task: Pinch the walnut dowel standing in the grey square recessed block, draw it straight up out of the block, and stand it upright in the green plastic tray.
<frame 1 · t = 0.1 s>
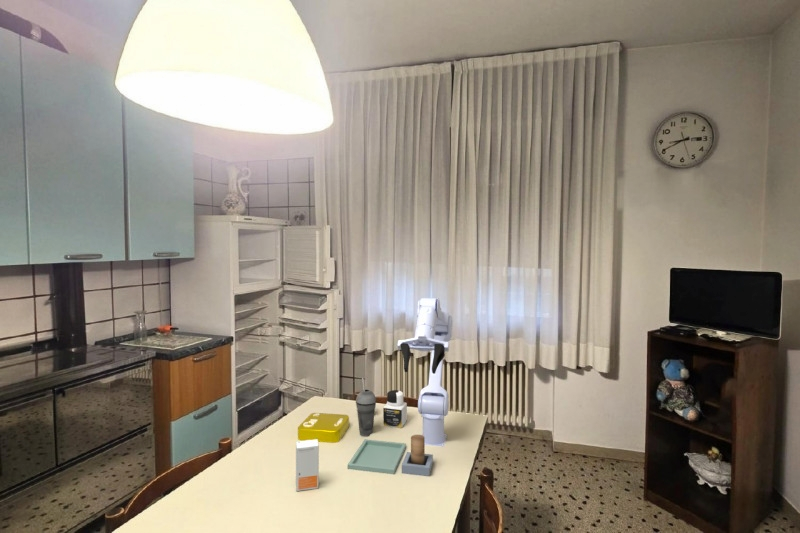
hand: (419, 370, 113), 32 cm above the table, tool tilted 50°, fingers open, 7 cm apart
element tile: (324, 433, 149), on the table
medicine bottle: (395, 423, 156), on the table
grey square recessed block: (417, 469, 123), on the table
dowel: (417, 467, 123), point 1 cm above the table, touching grey square recessed block
skincare box: (307, 487, 114), on the table
beverage cup: (366, 434, 147), on the table
tray: (378, 459, 129), on the table
geometric ball: (365, 415, 164), on the table
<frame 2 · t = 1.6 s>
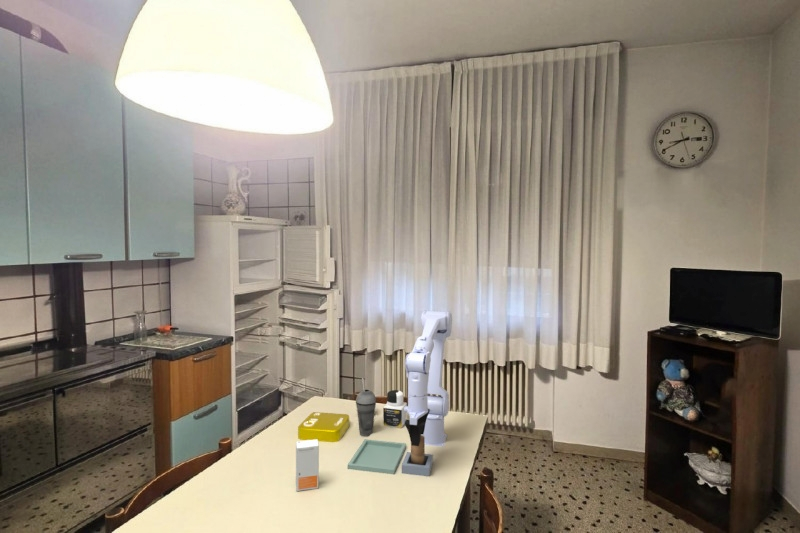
hand: (417, 439, 123), 9 cm above the table, tool pointing down, fingers open, 7 cm apart
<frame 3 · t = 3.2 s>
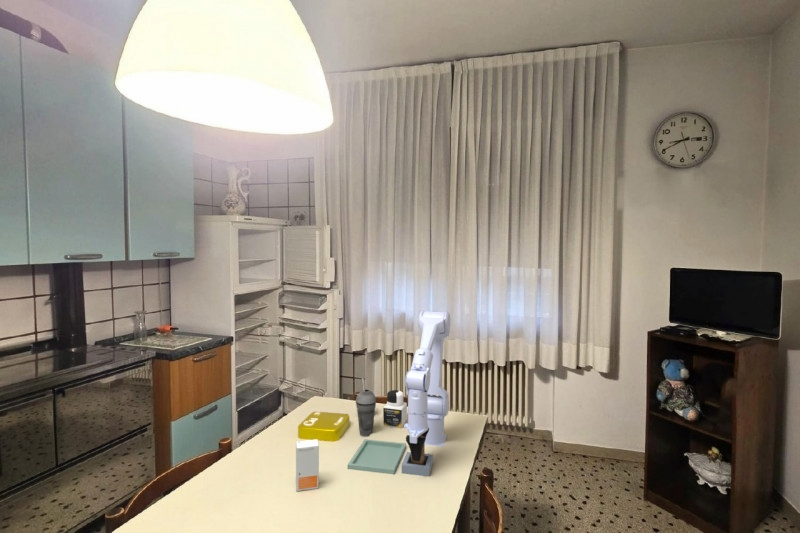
hand: (417, 456, 123), 4 cm above the table, tool pointing down, fingers closed on dowel, 4 cm apart
dowel: (417, 467, 123), point 1 cm above the table, touching grey square recessed block, gripper
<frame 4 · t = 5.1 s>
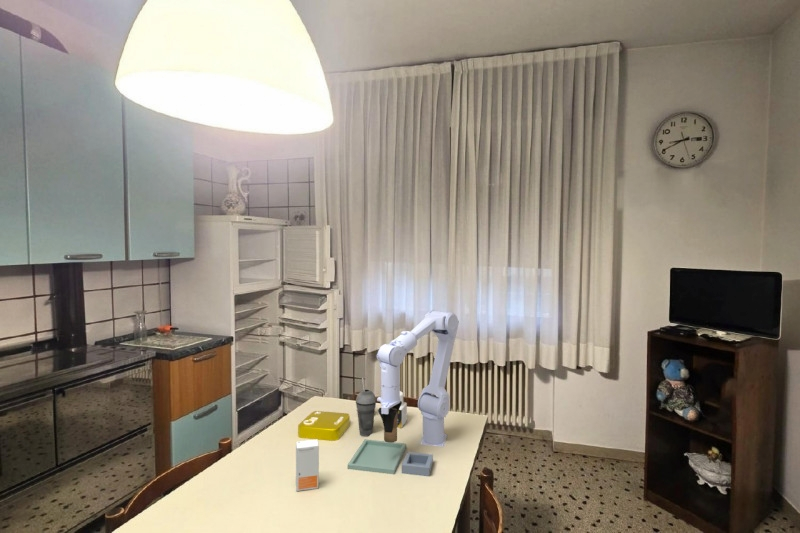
hand: (390, 428, 127), 10 cm above the table, tool pointing down, fingers closed on dowel, 4 cm apart
dowel: (390, 439, 127), point 7 cm above the table, touching gripper
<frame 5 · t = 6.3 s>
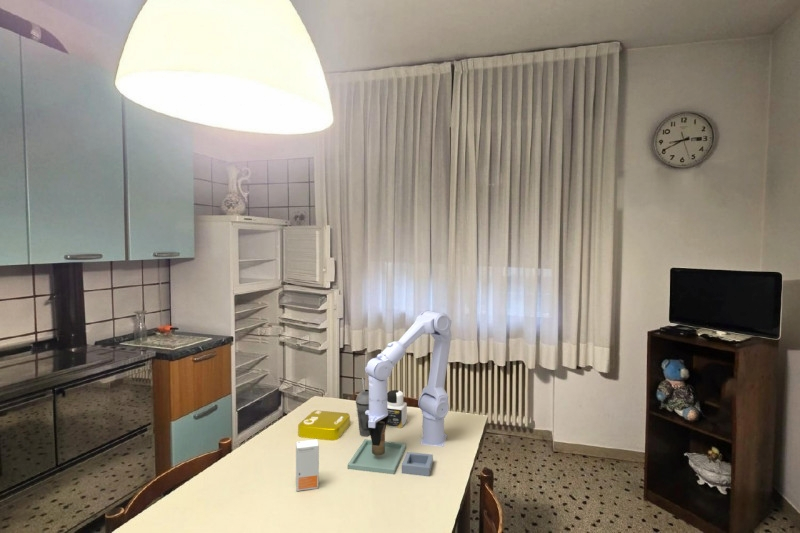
hand: (378, 441, 129), 6 cm above the table, tool pointing down, fingers closed on dowel, 4 cm apart
dowel: (378, 452, 129), point 2 cm above the table, touching gripper
when the fingers open (5 cm above the table, at t = 7.3 s): dowel stays where it is, resting on tray.
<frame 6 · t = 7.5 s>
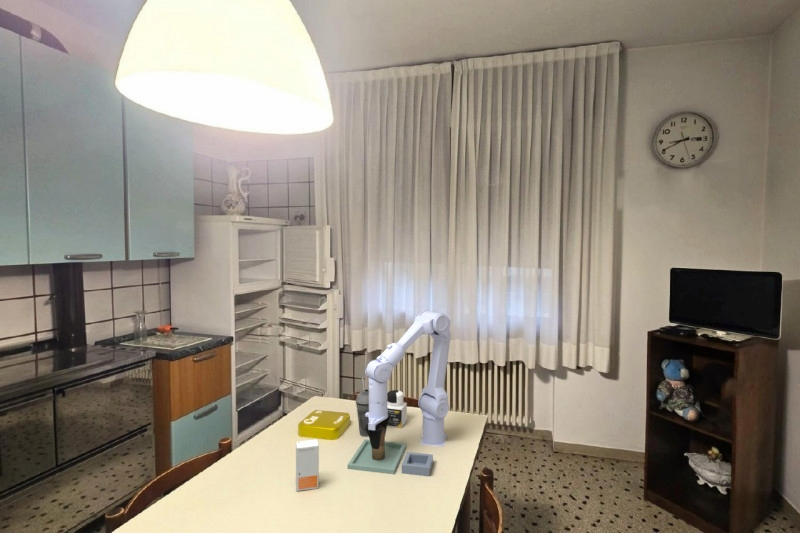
hand: (378, 443, 129), 5 cm above the table, tool pointing down, fingers open, 6 cm apart
dowel: (378, 457, 129), point 1 cm above the table, touching tray
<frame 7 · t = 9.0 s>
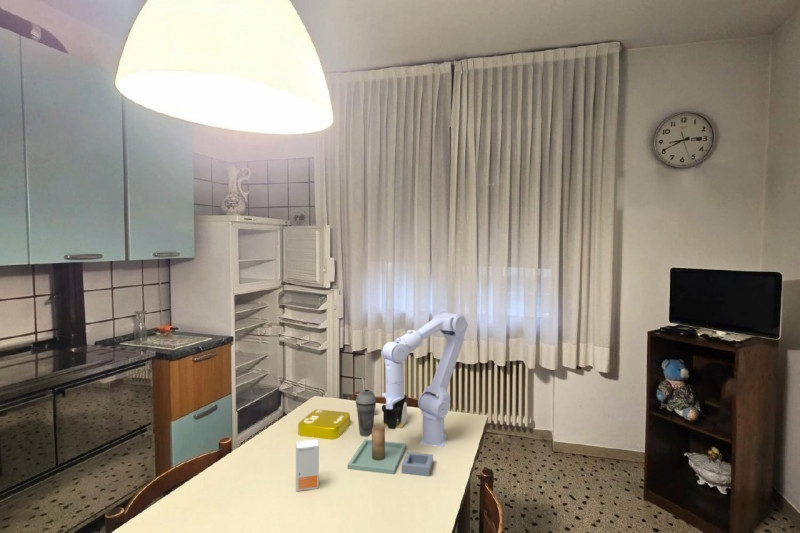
hand: (394, 423, 131), 10 cm above the table, tool pointing down, fingers open, 7 cm apart
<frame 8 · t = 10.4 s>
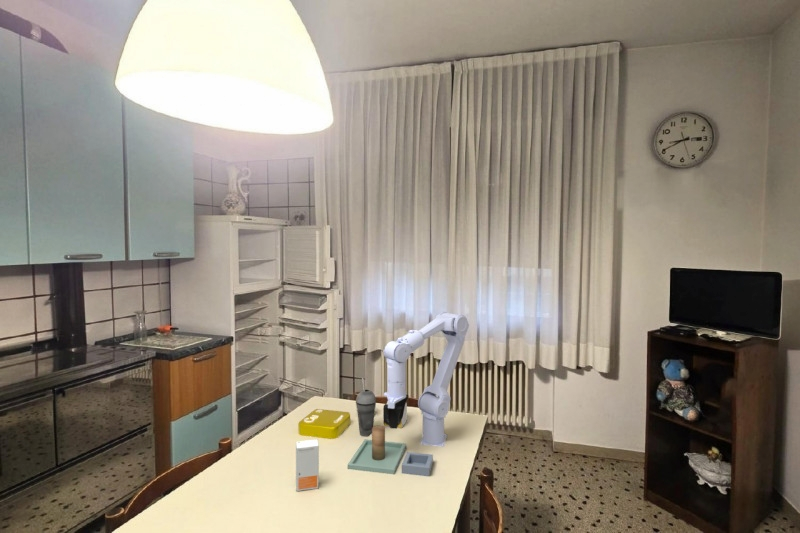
hand: (396, 422, 131), 10 cm above the table, tool pointing down, fingers open, 7 cm apart
at the end: dowel inside the target area on the tray (0.1 cm from its centre), point 0.6 cm above the tray's base; dowel tilted 0°; the gripper is holding nothing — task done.
